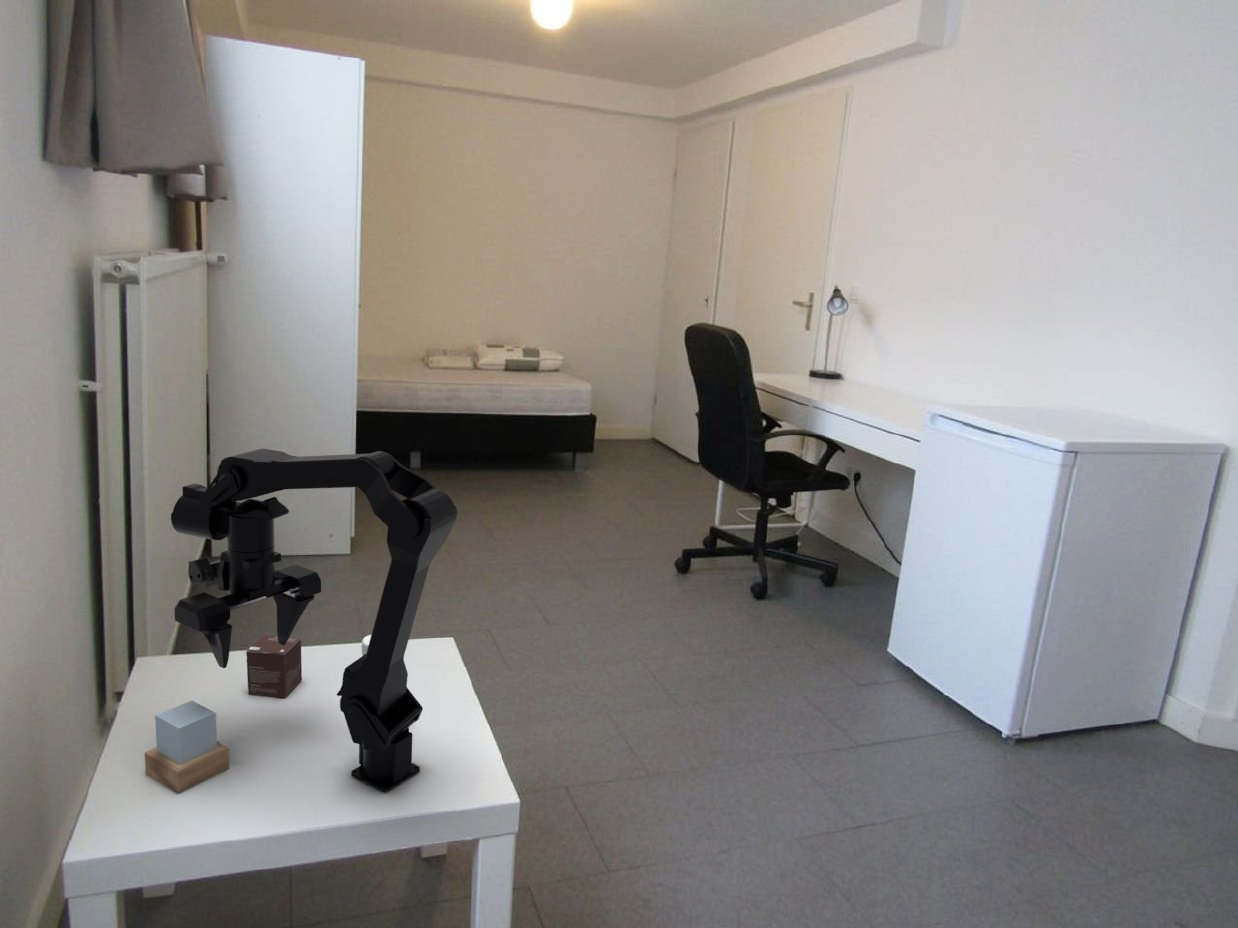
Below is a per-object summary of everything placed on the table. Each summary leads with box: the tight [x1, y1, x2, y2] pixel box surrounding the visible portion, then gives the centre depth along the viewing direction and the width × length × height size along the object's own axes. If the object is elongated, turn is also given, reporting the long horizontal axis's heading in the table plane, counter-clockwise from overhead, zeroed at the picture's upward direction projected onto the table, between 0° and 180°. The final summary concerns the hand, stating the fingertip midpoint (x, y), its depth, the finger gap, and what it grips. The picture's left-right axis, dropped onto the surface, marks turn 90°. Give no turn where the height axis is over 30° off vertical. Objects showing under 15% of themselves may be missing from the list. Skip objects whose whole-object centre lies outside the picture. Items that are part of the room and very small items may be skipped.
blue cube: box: [154, 700, 218, 765], centre depth 113 cm, size 5×5×5 cm
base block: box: [144, 741, 230, 794], centre depth 114 cm, size 7×7×3 cm
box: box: [245, 634, 303, 698], centre depth 136 cm, size 6×6×7 cm
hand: (253, 655), depth 119 cm, fingers open, 9 cm apart
